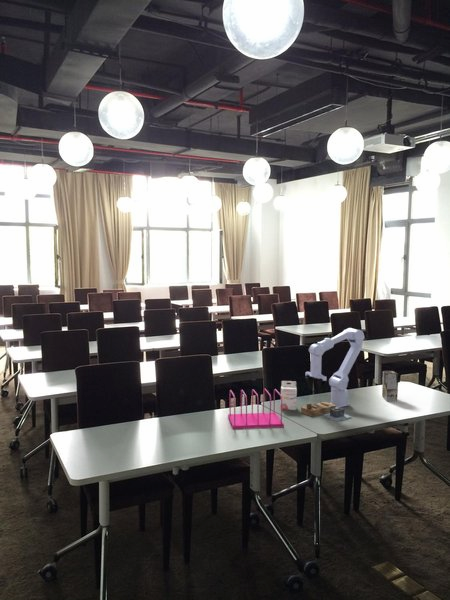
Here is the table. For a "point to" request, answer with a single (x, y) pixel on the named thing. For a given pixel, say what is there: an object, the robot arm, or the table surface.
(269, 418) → the file sorter
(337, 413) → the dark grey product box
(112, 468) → the table surface
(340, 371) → the robot arm
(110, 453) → the table surface
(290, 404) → the ink cartridge box
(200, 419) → the table surface
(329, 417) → the rubber mat
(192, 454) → the table surface
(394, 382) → the coffee box
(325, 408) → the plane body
